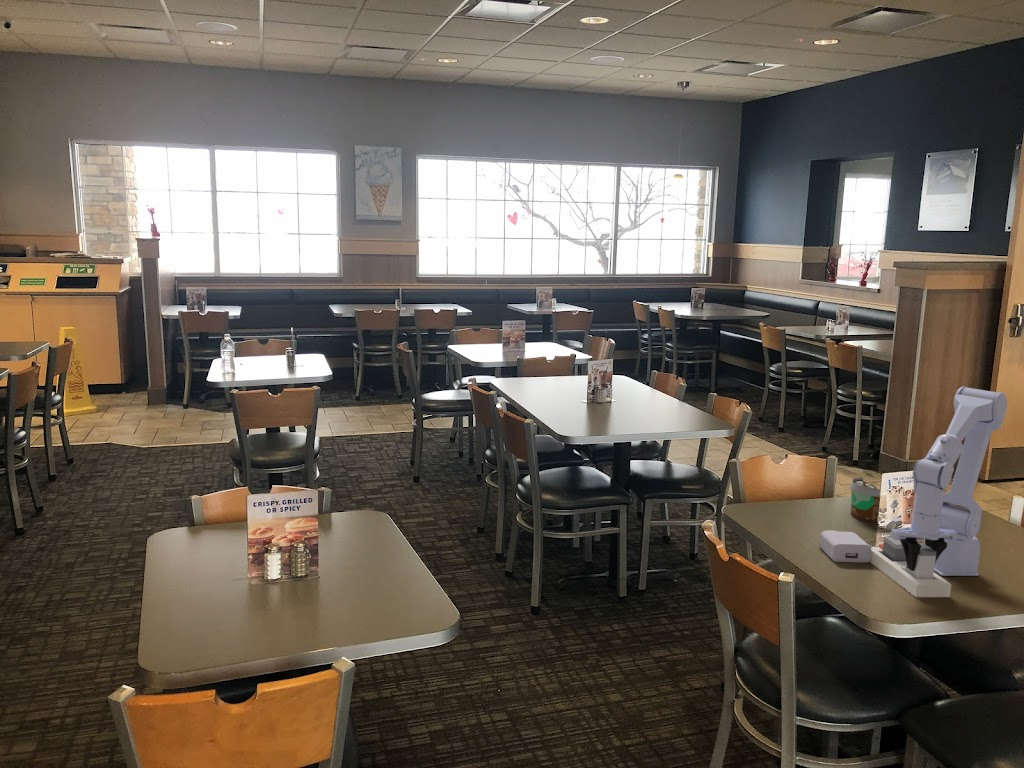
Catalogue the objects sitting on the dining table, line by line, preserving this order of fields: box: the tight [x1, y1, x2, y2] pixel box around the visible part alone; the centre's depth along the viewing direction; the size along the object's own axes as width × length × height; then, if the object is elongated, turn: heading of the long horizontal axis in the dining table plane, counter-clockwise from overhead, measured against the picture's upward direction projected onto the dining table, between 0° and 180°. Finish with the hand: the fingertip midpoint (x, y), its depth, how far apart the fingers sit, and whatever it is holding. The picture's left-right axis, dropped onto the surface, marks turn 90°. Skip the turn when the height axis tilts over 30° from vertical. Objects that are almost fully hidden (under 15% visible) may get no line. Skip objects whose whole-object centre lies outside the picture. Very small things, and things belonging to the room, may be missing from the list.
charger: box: [818, 530, 872, 563], centre depth 209 cm, size 5×9×15 cm
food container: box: [849, 476, 881, 524], centre depth 234 cm, size 12×6×10 cm, turn 6°
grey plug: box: [905, 542, 936, 579], centre depth 188 cm, size 4×5×7 cm
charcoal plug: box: [882, 536, 906, 562], centre depth 198 cm, size 4×5×7 cm
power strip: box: [868, 543, 952, 598], centre depth 194 cm, size 8×22×4 cm, turn 5°
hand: (919, 569), depth 188 cm, fingers closed on grey plug, 4 cm apart
